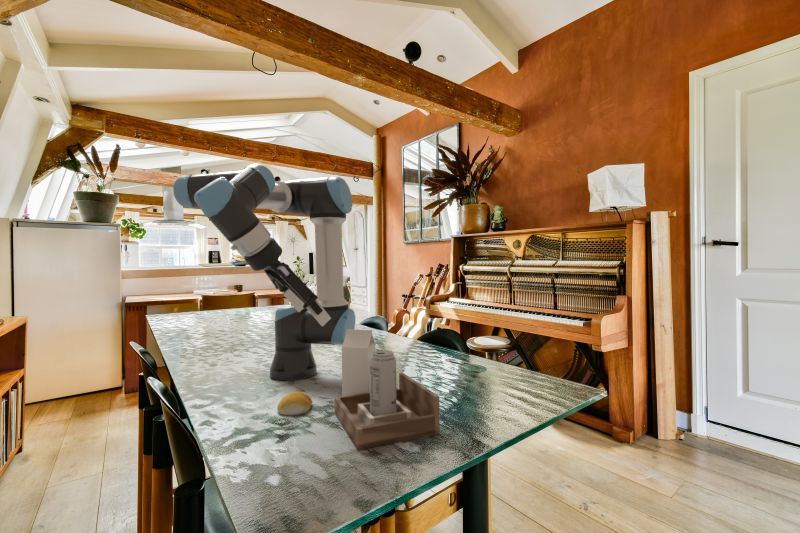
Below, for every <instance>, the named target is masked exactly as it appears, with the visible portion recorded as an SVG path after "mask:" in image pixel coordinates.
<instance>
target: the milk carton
mask: <svg viewBox="0 0 800 533" xmlns="http://www.w3.org/2000/svg"><path fill="white" fill-rule="evenodd" d="M375 351H376V341H375V338H374V336H373V329H354V330H346V336H345V339H344V342H343V345H341V388H342V389H341V393H342V394H341V396H348V395H356V394H363V393H370V359H371V357H372V355H373V354H372V353H373V352H375Z"/></svg>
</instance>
